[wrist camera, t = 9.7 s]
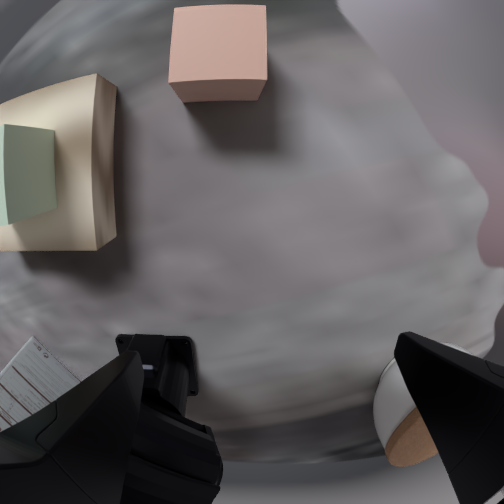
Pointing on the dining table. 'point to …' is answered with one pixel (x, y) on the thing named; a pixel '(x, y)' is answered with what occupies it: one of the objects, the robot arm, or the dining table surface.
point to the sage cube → (26, 172)
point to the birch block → (70, 165)
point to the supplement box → (31, 383)
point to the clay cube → (218, 52)
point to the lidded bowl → (401, 419)
